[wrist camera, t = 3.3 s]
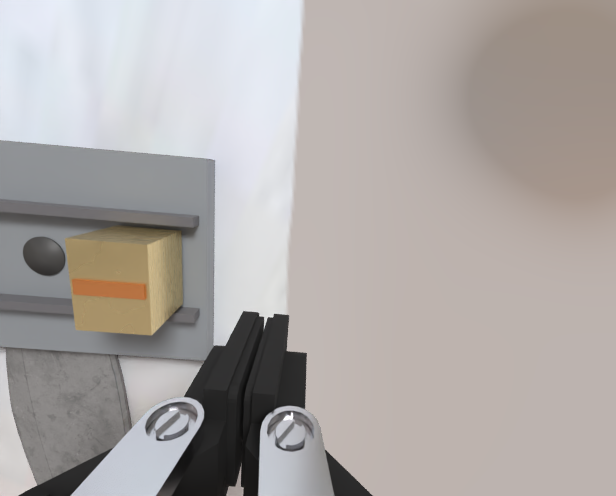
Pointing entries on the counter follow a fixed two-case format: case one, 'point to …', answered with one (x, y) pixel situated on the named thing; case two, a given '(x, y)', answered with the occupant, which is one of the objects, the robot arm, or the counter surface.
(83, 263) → the cardboard box
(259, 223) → the counter surface
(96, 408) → the cleaver
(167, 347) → the bolt plate
